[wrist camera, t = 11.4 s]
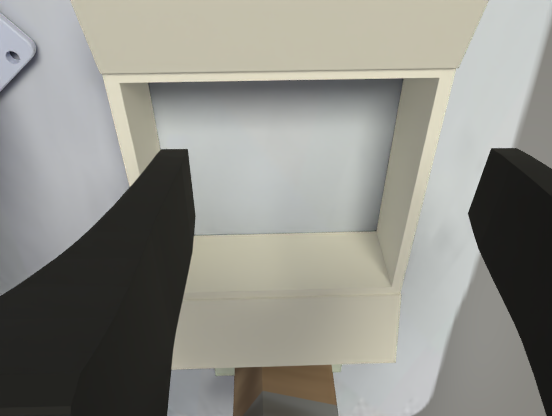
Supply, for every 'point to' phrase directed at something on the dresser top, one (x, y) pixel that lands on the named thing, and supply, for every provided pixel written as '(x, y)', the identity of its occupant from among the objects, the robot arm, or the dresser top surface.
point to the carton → (293, 246)
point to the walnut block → (284, 391)
